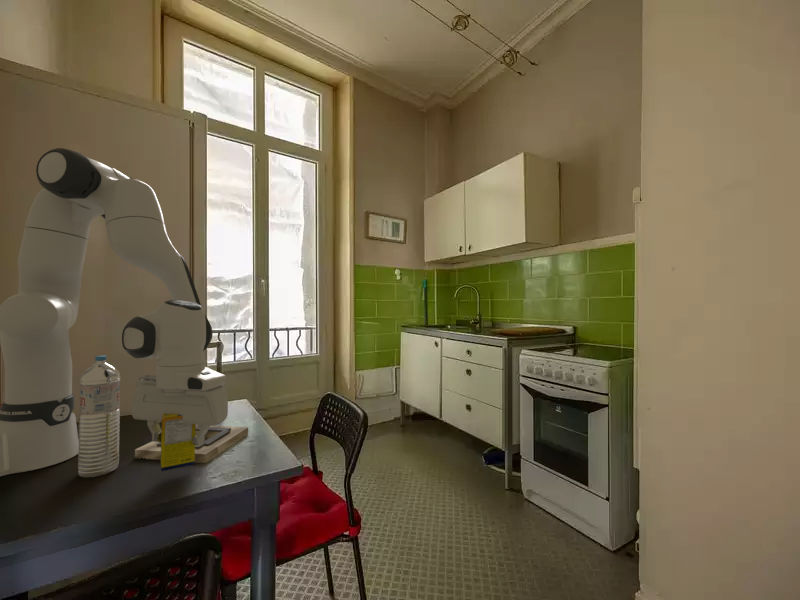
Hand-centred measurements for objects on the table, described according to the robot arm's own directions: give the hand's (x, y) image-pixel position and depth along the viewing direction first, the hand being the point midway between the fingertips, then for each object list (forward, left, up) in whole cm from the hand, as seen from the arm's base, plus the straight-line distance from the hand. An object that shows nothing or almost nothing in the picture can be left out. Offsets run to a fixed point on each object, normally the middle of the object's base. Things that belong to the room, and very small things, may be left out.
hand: (178, 442), depth 76 cm
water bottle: (-18, 0, -7) cm, 20 cm away
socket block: (-7, +16, -7) cm, 19 cm away
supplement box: (0, 0, -5) cm, 4 cm away
